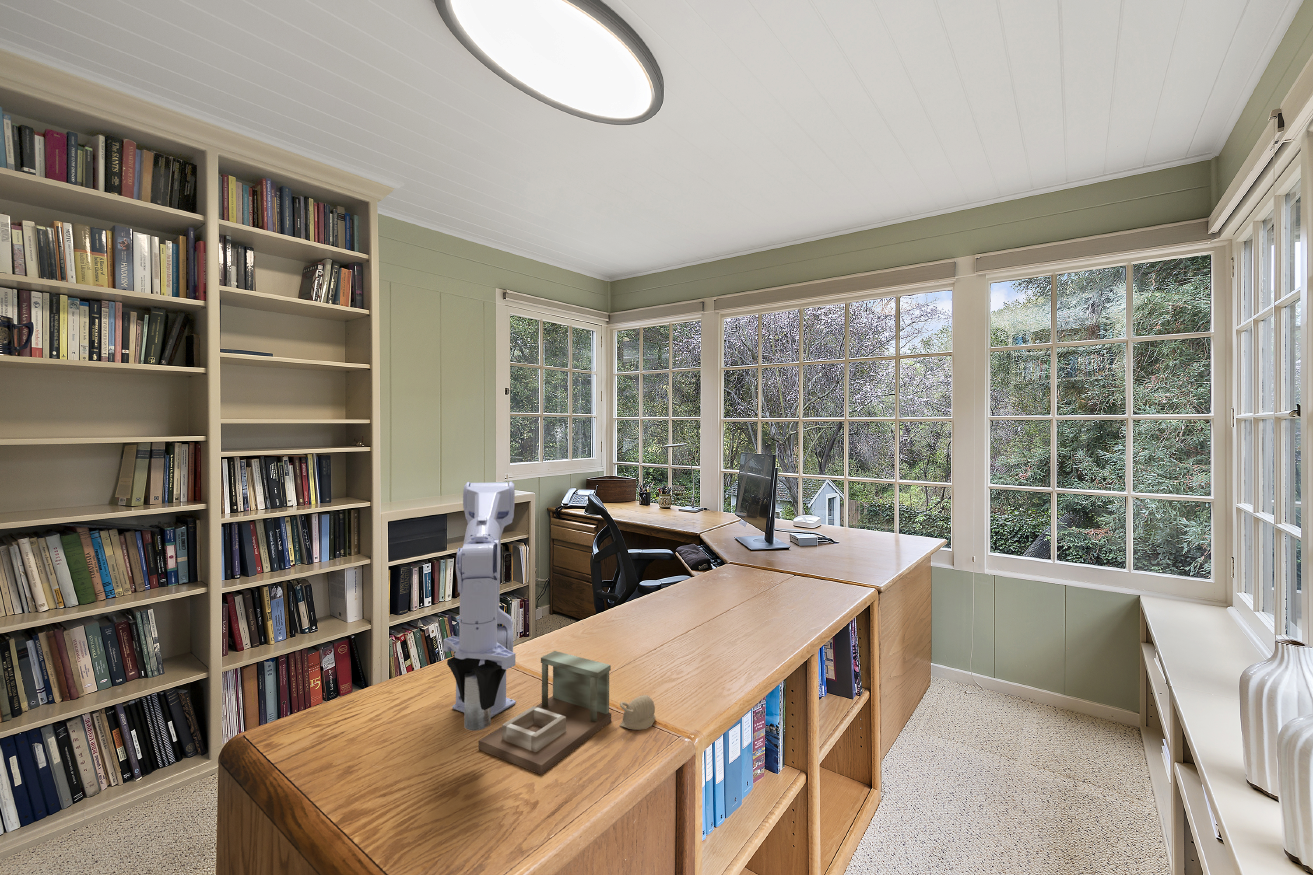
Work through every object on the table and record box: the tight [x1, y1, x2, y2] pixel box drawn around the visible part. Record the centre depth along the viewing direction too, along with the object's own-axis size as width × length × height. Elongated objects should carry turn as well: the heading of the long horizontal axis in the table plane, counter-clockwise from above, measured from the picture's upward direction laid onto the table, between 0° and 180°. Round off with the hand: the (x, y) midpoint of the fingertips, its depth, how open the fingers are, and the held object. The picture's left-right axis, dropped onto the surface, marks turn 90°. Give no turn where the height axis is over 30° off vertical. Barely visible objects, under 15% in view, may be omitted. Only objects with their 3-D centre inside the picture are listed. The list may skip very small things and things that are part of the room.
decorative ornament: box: [619, 694, 657, 731], centre depth 100 cm, size 4×8×5 cm, turn 128°
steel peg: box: [463, 670, 492, 731], centre depth 87 cm, size 4×4×8 cm
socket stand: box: [478, 650, 612, 776], centre depth 97 cm, size 14×19×10 cm
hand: (478, 703), depth 87 cm, fingers closed on steel peg, 4 cm apart
